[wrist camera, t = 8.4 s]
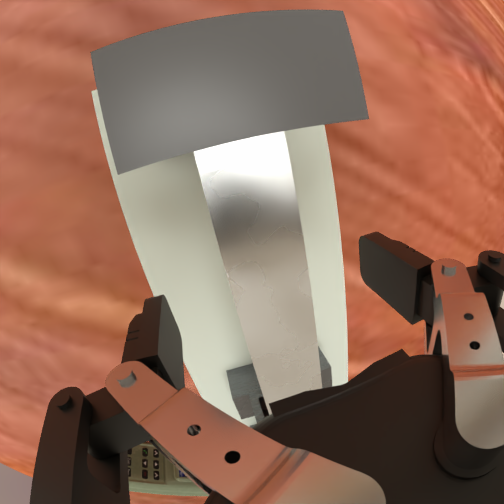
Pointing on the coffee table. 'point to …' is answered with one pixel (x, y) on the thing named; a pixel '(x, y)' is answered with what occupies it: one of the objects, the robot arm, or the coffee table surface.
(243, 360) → the base board
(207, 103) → the socket
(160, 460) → the handheld radio
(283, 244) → the silver metal bar
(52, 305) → the coffee table surface
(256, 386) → the sleeve
